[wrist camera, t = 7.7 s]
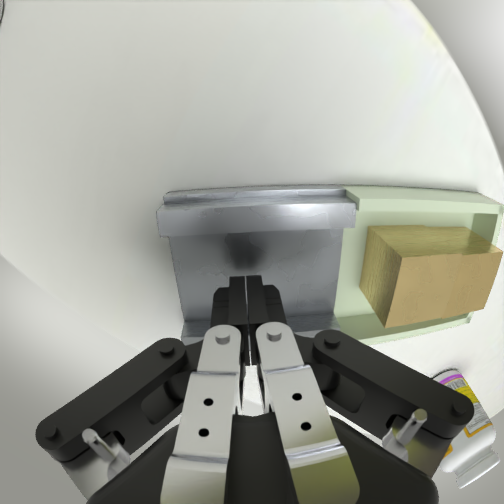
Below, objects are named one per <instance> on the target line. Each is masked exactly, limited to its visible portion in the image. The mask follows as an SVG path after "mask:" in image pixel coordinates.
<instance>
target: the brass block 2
mask: <svg viewBox="0 0 504 504" xmlns="http://www.w3.org/2000/svg"><path fill="white" fill-rule="evenodd" d="M427 228H429V229H430V230H432V231H433V232H435V233H436V234H437V235H439V236H440V237H442V238H443V239H444V240H446V241H447V242H449V243H450V244H451V245H453V246H454V247H455V248H457V249H458V250H459V251H461V252H462V253H463V254H462V258H461V262H460V265H459V269H458V272H457V276H456V279H455V282H454V285H453V289H452V292H451V295H450V298H449V300H448V303H447V306H446V309H445V312H444V314H443V317H442V318H441V319H444V318H449V317H453V316H457V315H461V314H465V313H469V312H473V311H477V310H481V309H484V307H485V304H486V302H487V299H488V296H489V294H490V291H491V288H492V286H493V283H494V280H495V277H496V274H497V271H498V268H499V265H500V261H501V258H502V254H503V251H502V250H500V249H499V248H497V247H496V246H494V245H493V244H491V243H490V242H489V241H487V240H486V239H484V238H483V237H481V236H480V235H478V234H476V233H475V232H473V231H472V230H470V229H469V228H467V227H427Z"/></svg>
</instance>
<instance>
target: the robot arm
mask: <svg viewBox="0 0 504 504" xmlns="http://www.w3.org/2000/svg"><path fill="white" fill-rule="evenodd" d="M2 9H3V0H0V19H1V15H2ZM246 285H247V304H248V320H249V335H250V349H251V363H252V365H257V380H258V386H259V391H260V396H261V401H262V406H263V411H264V414H262V415H259V416H254V417H252V416H245V415H243V404H244V386H245V378H244V377H245V375H246V369H245V366H250V356H249V339H248V322H247V306H246V290H245V276H231V277H229V287H220V288H218V289H217V290H216V292H215V293H214V295H213V304H212V314H211V323H210V329H209V330H208V331H207V332H206V334H205V336H204V339H203V340H201V341H199V342H197V343H193V344H189V345H184V343H183V342H182V341H180V340H178V339H175V338H164V339H161V340H159V341H157V342H155V343H154V344H152V345H151V346H150V347H148V348H147V349H145V350H144V351H143V352H141V353H140V354H138V355H137V356H135V357H134V358H133V359H131V360H130V361H128V362H127V363H125V364H124V365H123V366H121V367H120V368H118V369H117V370H115V371H114V372H113V373H111V374H110V375H108V376H107V377H105V378H104V379H102V380H101V381H99V382H98V383H97V384H95V385H94V386H92V387H91V388H89V389H88V390H86V391H85V392H84V393H82V394H81V395H79V396H78V397H76V398H75V399H73V400H72V401H70V402H69V403H67V404H66V405H64V406H63V407H62V408H60V409H58V410H57V411H56V412H54V413H53V414H51V415H50V416H48V417H47V418H45V419H44V420H42V421H41V422H40V423H39V425H38V426H37V429H36V440H37V442H38V444H39V445H40V446H41V447H42V448H43V449H45V451H47V452H48V453H49V454H50V455H51V457H52V458H54V459H55V460H56V461H57V462H58V463H60V464H61V465H62V467H63V468H64V469H65V471H66V472H67V474H68V475H69V477H70V478H71V479H72V481H73V482H74V484H75V485H76V486H77V488H78V489H79V490H80V492H81V493H82V494H83V495H84V497H85V498H86V499H87V500H88V501H87V503H86V504H438V502H439V496H438V490H437V487H436V486H435V483H434V482H433V480H432V477H433V475H434V473H435V472H436V470H437V468H438V467H439V465H440V463H441V461H442V459H443V457H444V456H445V454H446V452H447V450H448V448H449V446H450V444H451V442H452V441H453V440H454V438H455V437H456V436H457V435H458V434H459V433H460V432H461V431H462V430H463V429H464V428H465V427H466V425H467V424H468V423H469V422H470V421H471V420H472V418H473V416H474V405H473V403H472V401H471V400H470V399H469V398H468V397H467V396H465V395H464V394H462V393H460V392H457V391H455V390H453V389H451V388H449V387H447V386H445V385H443V384H441V383H439V382H437V381H435V380H433V379H431V378H429V377H427V376H425V375H423V374H421V373H419V372H417V371H415V370H413V369H412V368H410V367H408V366H406V365H404V364H402V363H400V362H398V361H396V360H394V359H392V358H390V357H388V356H386V355H384V354H383V353H381V352H379V351H377V350H375V349H373V348H371V347H369V346H367V345H365V344H364V343H362V342H360V341H358V340H356V339H354V338H352V337H350V336H349V335H347V334H345V333H343V332H341V331H338V330H334V329H327V330H323V331H320V332H319V333H317V334H316V335H315V337H314V338H310V337H303V336H299V335H297V334H295V333H293V332H292V330H291V329H290V327H289V326H288V325H287V321H286V317H285V313H284V309H283V304H282V300H281V296H280V292H279V290H278V289H277V288H276V287H275V286H274V285H263V282H262V276H261V275H249V276H246ZM326 405H327V406H328V407H330V408H331V409H333V410H334V411H336V412H338V413H339V414H341V415H342V416H344V417H345V418H347V419H348V420H350V421H352V422H353V423H355V424H356V425H358V426H360V427H361V428H363V429H364V430H366V431H368V432H369V433H371V434H373V435H374V436H376V437H378V438H379V439H381V440H382V445H383V447H381V446H380V445H378V444H376V443H375V442H373V441H372V440H370V439H369V438H367V437H366V436H364V435H363V434H361V433H360V432H358V431H357V430H355V429H354V428H352V427H351V426H350V425H348V424H347V423H345V422H344V421H342V420H340V419H338V418H336V417H333V416H331V415H329V413H328V410H327V408H326ZM181 412H182V414H181V419H180V423H179V424H178V425H176V426H175V427H172V428H171V429H169V430H168V431H167V432H165V433H164V434H163V435H162V436H161V437H160V438H159V439H158V440H157V441H156V442H154V443H153V444H152V445H151V446H150V447H149V448H148V449H146V450H145V451H144V452H143V453H142V454H141V455H140V456H139V457H137V458H136V459H135V460H134V461H133V462H131V463H130V455H131V454H132V453H134V452H135V451H136V450H137V449H139V448H140V447H141V446H142V445H144V444H145V443H146V442H147V441H148V440H150V439H151V438H152V437H153V436H154V435H156V434H157V433H158V432H159V431H160V430H162V429H163V428H164V427H165V426H166V425H167V424H169V423H170V422H171V421H172V420H173V419H174V418H176V417H177V416H178V415H179V414H180V413H181Z"/></svg>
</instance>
